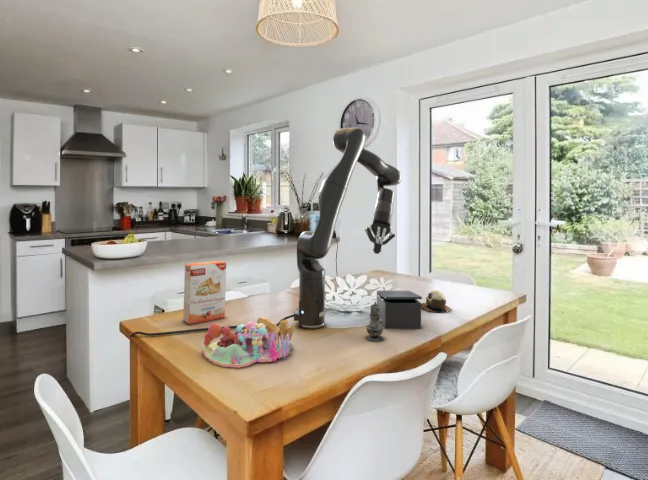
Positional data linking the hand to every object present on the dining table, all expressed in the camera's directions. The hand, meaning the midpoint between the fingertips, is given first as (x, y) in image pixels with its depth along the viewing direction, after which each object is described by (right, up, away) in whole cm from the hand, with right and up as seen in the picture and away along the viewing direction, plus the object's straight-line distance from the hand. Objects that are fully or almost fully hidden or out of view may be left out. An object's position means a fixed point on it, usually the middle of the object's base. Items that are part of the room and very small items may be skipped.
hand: (376, 253), depth 166 cm
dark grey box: (+6, -23, -14) cm, 28 cm away
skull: (+25, -24, +4) cm, 34 cm away
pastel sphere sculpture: (-43, -23, -44) cm, 66 cm away
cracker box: (-65, -22, -15) cm, 71 cm away
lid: (+6, -13, -15) cm, 21 cm away
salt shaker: (-5, -23, -32) cm, 40 cm away
